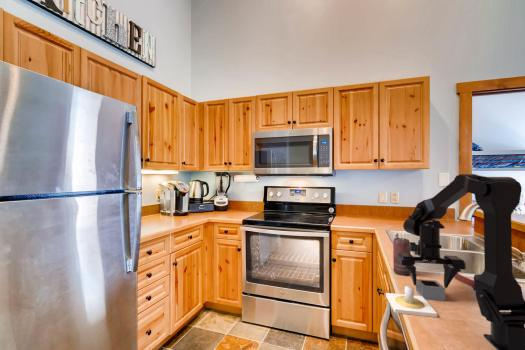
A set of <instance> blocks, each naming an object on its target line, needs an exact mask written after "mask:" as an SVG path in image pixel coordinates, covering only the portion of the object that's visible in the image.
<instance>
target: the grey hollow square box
mask: <svg viewBox="0 0 525 350" xmlns="http://www.w3.org/2000/svg"><path fill="white" fill-rule="evenodd" d="M415 291H416V292H417V294H418V296H423V298H424V299H425V300H430V301H431V300H432V301H439V302H442V301H443V302H445V301H446V288H445V287H444V285H442V284H441V283H440V282H439V281H438V280H432V279H421V278H420V279H419V278H416V286H415Z"/></svg>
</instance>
